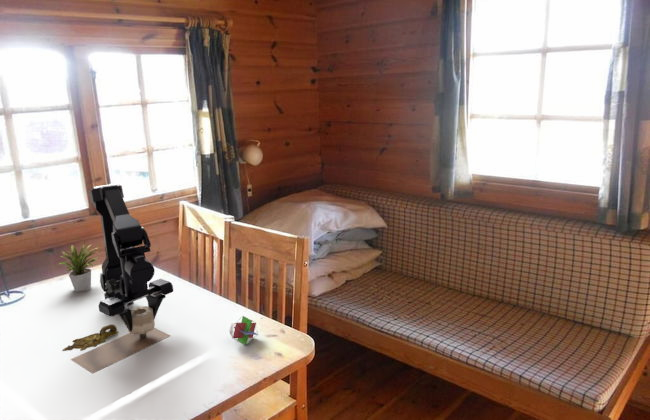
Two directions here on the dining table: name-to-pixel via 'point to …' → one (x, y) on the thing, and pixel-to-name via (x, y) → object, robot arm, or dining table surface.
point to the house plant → (80, 268)
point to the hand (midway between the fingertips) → (141, 325)
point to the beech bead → (142, 320)
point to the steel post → (142, 336)
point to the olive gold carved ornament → (93, 338)
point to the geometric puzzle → (243, 330)
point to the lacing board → (117, 350)
